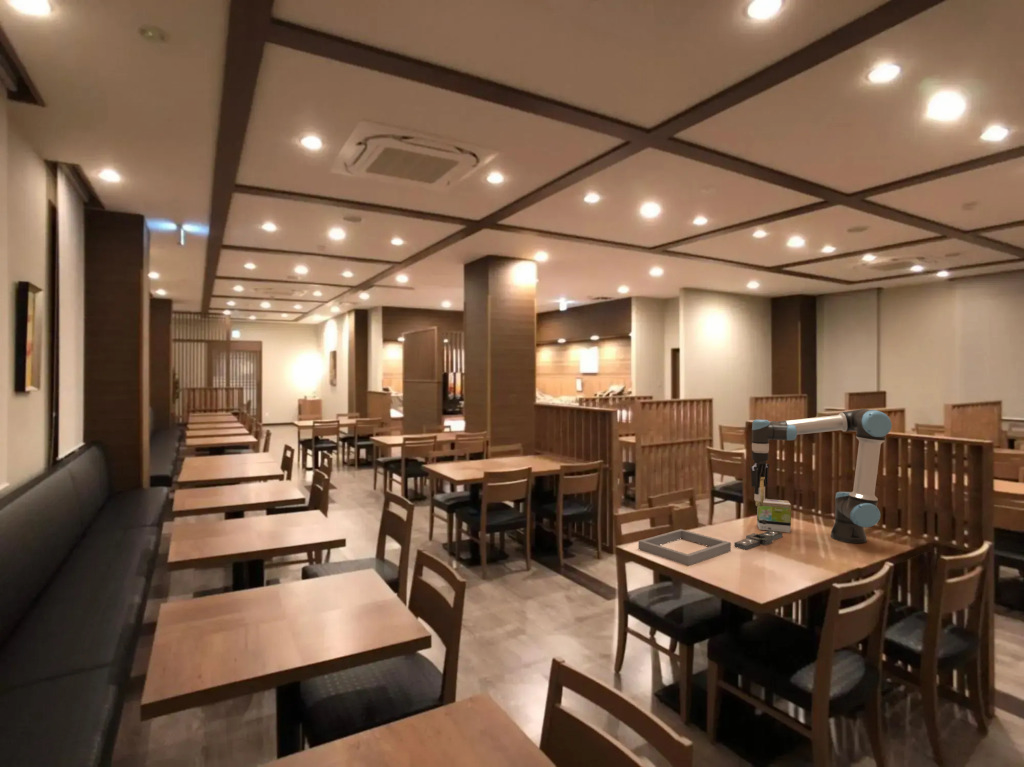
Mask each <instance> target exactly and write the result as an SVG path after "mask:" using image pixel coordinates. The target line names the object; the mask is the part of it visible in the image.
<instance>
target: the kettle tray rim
mask: <svg viewBox="0 0 1024 767" xmlns="http://www.w3.org/2000/svg"><path fill="white" fill-rule="evenodd" d="M680 538H684V539H687V540H686V541H688V540H690V541H689V542H691V541H694V542H693V543H695V542H697V543H696V544H698V543H700V544H699V545H702V544H704V545H703V546H705V545H707V546H706V547H705V548H703V549H699V550H697V551H692V552H690V553H684V552H681V551H679V550H674V549H673V548H669V547H664V546H662V545H665V544H664V543H666V544H668V543H667V542H669V543H671V542H670V541H673V542H675V541H674V540H676V541H678V540H677V539H679V540H681V539H680ZM684 539H683V540H684ZM660 544H662V545H660ZM637 545H638V550H639V549H640V550H639V551H643V552H645V553H648V554H651V555H654V556H658V557H661V558H664V559H666V560H670V561H673V562H676V563H679V564H682V565H684V566H692V565H695V564H697V563H701V562H703V560H704V561H707V560H708V559H712V558H714V557H717V556H721V555H724V554H726V552H727V553H729V552H728V551H730V552H731V551H732V550H731V545H732V542H730V541H727V540H723V539H720V538H716V537H712V536H708V535H705V534H700V533H696V532H694V531H690V530H686V529H683V528H680V529H676V530H673V531H669V532H666V533H662V534H659V535H655V536H651V537H647V538H644V539H640V540H638V544H637ZM709 546H710V547H709ZM723 553H724V554H723ZM720 554H721V555H720ZM706 559H707V560H706Z"/></svg>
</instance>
